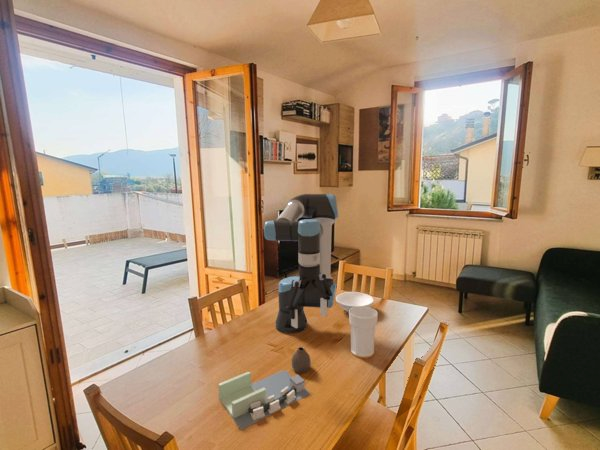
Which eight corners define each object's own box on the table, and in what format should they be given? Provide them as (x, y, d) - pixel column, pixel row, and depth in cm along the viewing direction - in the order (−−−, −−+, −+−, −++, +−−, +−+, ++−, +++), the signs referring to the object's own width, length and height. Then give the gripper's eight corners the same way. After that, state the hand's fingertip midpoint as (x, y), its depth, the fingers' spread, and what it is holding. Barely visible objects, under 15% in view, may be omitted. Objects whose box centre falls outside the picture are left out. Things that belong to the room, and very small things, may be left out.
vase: (297, 378, 113) (296, 355, 112) (288, 368, 119) (288, 346, 118) (314, 373, 116) (313, 350, 115) (305, 363, 122) (304, 342, 121)
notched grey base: (246, 409, 96) (246, 406, 96) (296, 385, 107) (296, 382, 107) (252, 418, 93) (252, 414, 93) (304, 392, 104) (304, 388, 104)
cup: (342, 348, 132) (343, 308, 130) (365, 342, 137) (366, 304, 134) (358, 363, 122) (359, 320, 119) (382, 356, 126) (383, 314, 124)
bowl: (376, 319, 159) (377, 306, 158) (337, 319, 159) (337, 306, 158) (369, 303, 178) (369, 291, 177) (333, 303, 178) (334, 291, 177)
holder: (219, 397, 102) (218, 383, 102) (249, 384, 109) (248, 371, 108) (234, 419, 93) (233, 404, 92) (266, 403, 99) (266, 389, 99)
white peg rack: (244, 408, 98) (243, 399, 97) (297, 382, 109) (297, 374, 109) (254, 422, 92) (254, 412, 92) (309, 393, 104) (309, 384, 103)
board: (218, 400, 102) (218, 398, 102) (284, 372, 117) (284, 369, 117) (241, 433, 90) (240, 429, 89) (311, 396, 104) (311, 393, 104)
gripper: (286, 273, 101) (287, 336, 104) (342, 259, 116) (341, 314, 120) (273, 268, 107) (274, 327, 110) (328, 255, 122) (327, 308, 125)
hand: (309, 321), depth 115 cm, fingers open, 13 cm apart
